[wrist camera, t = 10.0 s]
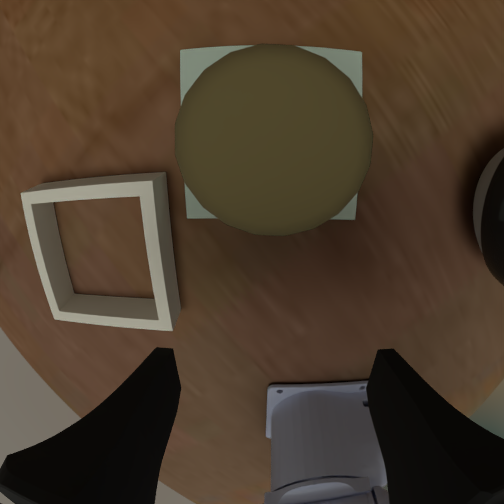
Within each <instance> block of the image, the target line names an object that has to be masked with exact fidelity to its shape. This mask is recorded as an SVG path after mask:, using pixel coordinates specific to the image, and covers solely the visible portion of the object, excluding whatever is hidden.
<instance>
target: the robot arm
mask: <svg viewBox="0 0 504 504" xmlns="http://www.w3.org/2000/svg"><path fill="white" fill-rule="evenodd" d="M180 392H181V384H180V380H179V375H178V371H177V366H176V361H175V356H174V351H173V349H171V348H159V347H157V348H155V349H154V350H153V351H152V352H151V354H150V355H149V356H148V357H147V358H146V359H145V360H144V361H143V362H142V363H141V365H140V366H139V367H138V368H137V369H136V370H135V371H134V372H133V373H132V374H131V375H130V376H129V377H128V378H127V379H126V380H125V381H124V382H123V383H122V384H121V385H120V386H119V387H118V388H117V389H116V390H115V391H114V392H113V393H112V394H111V395H110V396H109V397H108V398H107V399H105V400H104V401H103V402H102V403H101V404H100V405H99V406H97V407H96V408H95V409H94V410H92V411H91V412H90V413H89V414H87V415H86V416H85V417H83V418H82V419H80V420H79V421H77V422H76V423H74V424H73V425H71V426H70V427H68V428H66V429H65V430H63V431H62V432H60V433H58V434H56V435H55V436H53V437H51V438H49V439H47V440H45V441H43V442H41V443H38V444H36V445H34V446H32V447H29V448H26V449H24V450H21V451H18V452H16V453H13V454H10V455H7V457H6V459H5V461H4V463H3V464H2V466H1V468H0V492H1V493H2V494H4V495H5V496H6V497H7V498H8V499H10V500H11V501H12V502H14V503H15V504H154V503H155V496H156V489H157V483H158V477H159V471H160V467H161V463H162V459H163V456H164V453H165V449H166V446H167V443H168V440H169V436H170V433H171V430H172V427H173V423H174V420H175V417H176V413H177V409H178V404H179V398H180ZM266 437H267V438H271V492H266V493H265V501H264V504H504V439H503V438H501V437H499V436H497V435H495V434H493V433H491V432H489V431H488V430H486V429H484V428H483V427H481V426H479V425H478V424H476V423H475V422H473V421H472V420H470V419H469V418H467V417H466V416H465V415H463V414H462V413H461V412H459V411H458V410H457V409H455V408H454V407H453V406H452V405H451V404H449V403H448V402H447V401H446V400H445V399H444V398H443V397H441V396H440V395H439V394H438V393H437V392H436V391H435V390H434V389H433V388H432V387H431V386H430V385H429V384H428V383H427V382H425V381H424V380H423V379H422V378H421V376H420V375H419V374H418V373H417V372H416V371H415V370H414V369H413V368H412V367H411V366H410V365H409V364H408V363H407V362H406V361H405V360H404V359H403V358H402V357H401V356H400V355H399V354H398V353H397V352H396V351H395V350H394V349H380V350H378V351H377V354H376V358H375V361H374V364H373V368H372V371H371V374H370V377H369V380H368V381H357V382H342V383H324V384H287V385H270V386H269V387H268V390H267V416H266ZM386 484H388V491H387V490H385V489H383V488H382V487H384V486H385V485H386ZM0 504H1V503H0Z"/></svg>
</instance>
